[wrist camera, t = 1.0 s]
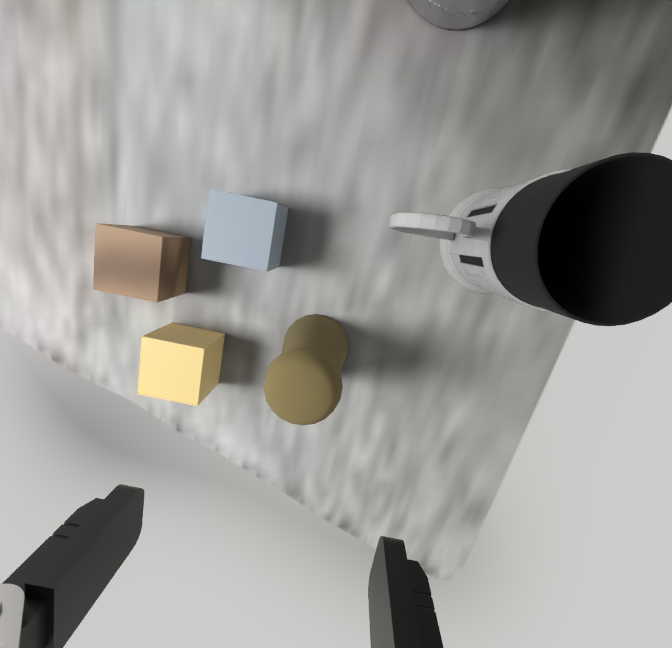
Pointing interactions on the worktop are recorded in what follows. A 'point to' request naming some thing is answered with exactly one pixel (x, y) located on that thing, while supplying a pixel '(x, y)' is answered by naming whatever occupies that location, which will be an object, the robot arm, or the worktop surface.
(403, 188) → the worktop surface
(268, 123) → the worktop surface
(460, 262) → the glass holder
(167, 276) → the walnut block
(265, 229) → the slate block
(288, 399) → the cork
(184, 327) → the mustard block
